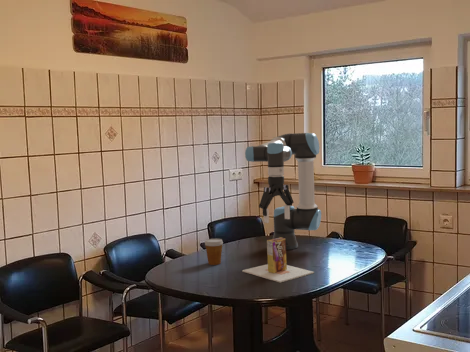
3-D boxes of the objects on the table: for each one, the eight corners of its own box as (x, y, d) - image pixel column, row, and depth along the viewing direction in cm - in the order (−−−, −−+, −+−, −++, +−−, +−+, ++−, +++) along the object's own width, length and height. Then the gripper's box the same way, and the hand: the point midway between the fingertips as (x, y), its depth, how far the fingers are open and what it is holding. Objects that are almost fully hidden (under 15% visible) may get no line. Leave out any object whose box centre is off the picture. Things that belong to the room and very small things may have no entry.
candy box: (280, 268, 265) (280, 237, 264) (287, 269, 262) (286, 238, 260) (267, 271, 259) (266, 239, 258) (273, 273, 256) (272, 241, 255)
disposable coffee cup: (209, 260, 287) (208, 238, 286) (226, 261, 284) (225, 238, 282) (202, 265, 278) (201, 241, 277) (219, 266, 275) (219, 242, 274)
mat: (242, 271, 264) (242, 270, 264) (275, 263, 278) (275, 261, 278) (280, 282, 244) (280, 280, 244) (313, 273, 258) (313, 271, 258)
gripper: (261, 178, 246) (262, 225, 248) (300, 174, 262) (301, 218, 264) (250, 177, 252) (251, 223, 254) (289, 173, 267) (290, 216, 269)
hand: (276, 220), depth 259 cm, fingers open, 13 cm apart
